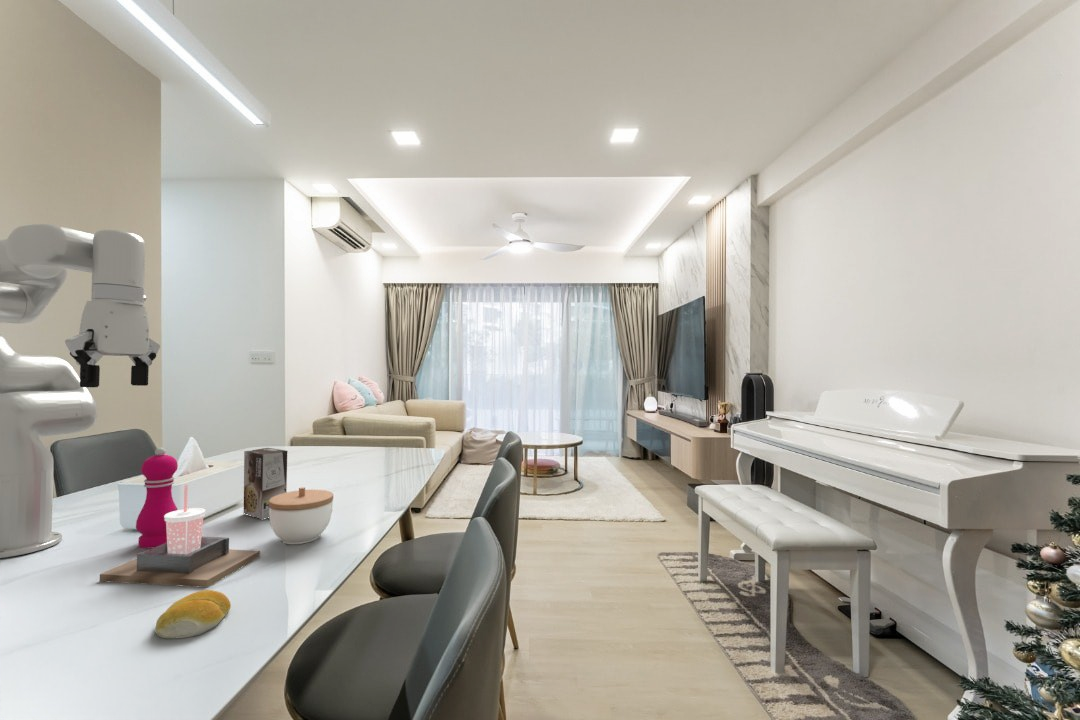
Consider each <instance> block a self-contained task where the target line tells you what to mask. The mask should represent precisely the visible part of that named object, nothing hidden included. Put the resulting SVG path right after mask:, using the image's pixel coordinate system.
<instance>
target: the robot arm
mask: <svg viewBox="0 0 1080 720" xmlns="http://www.w3.org/2000/svg"><path fill="white" fill-rule="evenodd" d="M145 263H146V243H145V240H144V239H143V237H141V236H140V235H137V234H136V233H132V232H129V231H128V232H127V231H124V230H116V229H102V230H97V231H96V232H95V233H90V232H86V231H82V230H78V229H74V228H71V227H66V226H61V225H56V224H48V223H38V224H36V223H35V224H29V225H20V226H17V227H16V228H14V229H13V230H12V231H11V232H10V233H9V235H8V236H7V238H5V239H0V323H3V324H4V323H6V324H26V323H31V322H33V321H35V320H36V319H38V317H39V316H40V315H42V313H43V312H44V311H45V309H46V307H48V305H49V304H50V302H51V301H52V300H53V299H54V297H55V296H56V295H57V294H58V292H59V291H60V289H61V288H62V286H63V285H64V283H65V281H66V280H67V279H66V278H67V275H68V270H73V271H78V272H79V271H80V272H85V273H89V274H91V298H90V299H91V300H87V301H85V305H84V308H83V311H82V314H81V318H80V324H79V325H80V326H79V330H78V331H79V333H78V334H76V335H74V336H71V337H69V338H67V339H65V341H64V342H65V345H66V347H67V349H68V351H69V355H70V356H71V357H72V358H73V359H74V360H75V364H76V365H77V366H79V374H78V373H77V371H76V370H75V369H74V368H73V366H72V365H71V364H70V362H68V361H66V360H65V359H64V358H63V359H62V358H61V357H58V356H54V355H46V354H45V355H44V354H43V355H41V354H39V355H38V354H23V353H19V352H16V351H15V350H14V349H13V348H12V347H11V345H10V344H9V342H8V341H7V339H6V338H5V337H4V336H2V334H0V559H4V558H11V557H16V556H21V555H22V556H23V555H26V554H30V553H35V552H38V551H41V550H45V549H49V548H50V547H54V546H55V545H57V544H59V543H60V542H61V541H62V539H63V538H62V537H63V535H62V533H60V532H58V531H52V529H53V528H52V527H53V501H54V500H53V495H54V493H53V492H54V455H53V453H52V451H51V450H50V449H49V448H48V447H47V446H46V445H45V444H44V443H43V442H42V441H41V439H40V438H44V437H48V436H49V437H50V436H60V435H68V434H69V435H70V434H75V433H77V434H78V433H81V432H84V431H87V430H89V429H90V428H91V427H93V426H94V424H95V423H96V421H97V419H98V415H99V411H98V407H97V403H96V400H95V399H94V396H92V395H93V394H91V392H90V391H89V389H88V388H98V387H100V369H101V368H100V367H101V366H100V365H99V364H97V363H98V362H99V361H100V360H101V359H102V358H103V356H113V357H114V356H119V357H121V356H122V357H123V356H124V357H126V356H128V357H129V359H130V360H131V361H132V363H133V364H134V365H131V368H130V369H131V370H130V385H132V386H142V387H143V386H144V387H145V386H146V387H147V386H149V368H150V366H151V365H152V364H153V361H154V360H155V359H156V358H157V355H158V353H159V350H160V348H161V345H160V344H159V343H157V342H156V341H154V340H153V339H151V338H150V330H149V329H150V328H149V321H148V313H147V309H146V306H145V305H144V304H145V302H146V300H147V296H146V295H145V270H146V269H145V267H146V266H145V265H146V264H145ZM1 283H3V284H1ZM4 283H5V284H4ZM10 284H14V285H10ZM15 285H17V286H15Z"/></svg>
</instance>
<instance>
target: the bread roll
mask: <svg viewBox="0 0 1080 720" xmlns="http://www.w3.org/2000/svg"><path fill="white" fill-rule="evenodd" d="M231 606H232V605H231V601H230V599H229V598H228V596H227V595H226V594H224V593H223V592H220V591H217V590H209V589H208V590H207V589H206V590H199V591H195V592H192V593H190V594H188V595H186V596H184V597H182V598H181V599H179V600H176V601H175V602H173V603H172V604H171V605H170V606H169V607H168V608H167V609H166V611H165V612H163V613H162V614H161V615H160V616H159V617H158V618H157V619H156V623H155V628H154V630H155V633H156V635H157V636H158V637H160V638H164V639H169V640H170V639H183V638H190V637H191V638H192V637H196V636H198V635H201V634H204V633H205V632H208V631H209V630H212V629H213V628H215V627H216V626H217V625H218V624H219V623H220V622H221V621H222V620H223V619H224V618H225V617H226V616H227V615H228V613H229V612H230V610H231V608H232V607H231Z"/></svg>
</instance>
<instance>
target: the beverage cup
mask: <svg viewBox="0 0 1080 720" xmlns="http://www.w3.org/2000/svg"><path fill="white" fill-rule="evenodd" d="M183 487H184V490H183V508H182V509H178V510H176V511H172V512H169V513H167V514H165V516H164V518H165V521H166V530H167V550H168V553H171V554H189V553H191V552H193V551H195V550H198V549H200V547H201V537H203V536H202V535H203V534H202V533H203V527H204V526H203V525H204V517H205V515H206V509H205V508H202V507H201V508H200V507H190V508H188V488H189V487H188V485H187V484H185V485H184V486H183Z"/></svg>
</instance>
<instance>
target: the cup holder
mask: <svg viewBox="0 0 1080 720" xmlns="http://www.w3.org/2000/svg"><path fill="white" fill-rule="evenodd" d="M260 556H261V554H260V550H251V549H247V550H246V549H230V538H229V537H222V536H220V537H219V536H202V537H201V547H200V549H198V550H195V551H193V552H191V553H189V554H171V553H168V550H167V542H166V543H164V544H162V545H159V546H157V547H154V548H149V549H148V550H145V551H140V552H138V553H136V558H135V559H131V560H130V561H127V562H125V563H123V564H120V565H118V566H115V567H113V568H111V569H108V570H106V571H104V572H101V573H100V574H99V580H98V581H99V582H105V581H110V582H109V583H123V582H129V584H141V583H147V584H146V585H158V586H159V585H162V586H164V585H165V586H176V585H183V586H182V587H194V586H199V587H200V588H209V587H210V586H212V585H214V584H216V583H217V582H219V581H221V580H222V578H223V579H224V578H226V577H227V575H228V576H229V575H231V574H232V572H233V573H234V571H235V572H236V571H238V570H240V569H241V567H242V566H243V567H245V566H247V565H248V564H251V563H252V562H254V561H255V560H257V559H259V558H260ZM253 560H254V561H253ZM246 564H247V565H246ZM244 565H245V566H244ZM243 567H242V568H243ZM239 568H240V569H239ZM237 569H238V570H237ZM225 576H226V577H225ZM199 587H198V588H199Z"/></svg>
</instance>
